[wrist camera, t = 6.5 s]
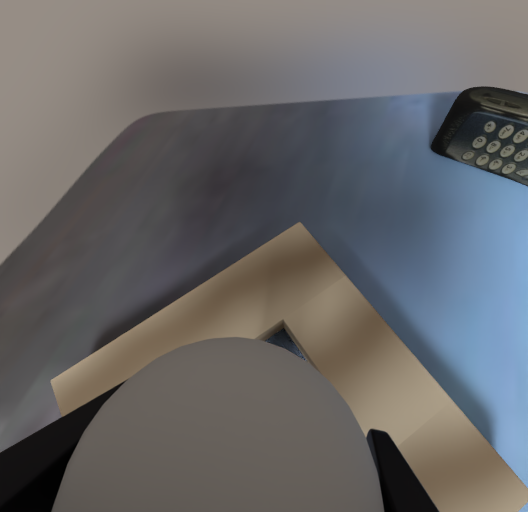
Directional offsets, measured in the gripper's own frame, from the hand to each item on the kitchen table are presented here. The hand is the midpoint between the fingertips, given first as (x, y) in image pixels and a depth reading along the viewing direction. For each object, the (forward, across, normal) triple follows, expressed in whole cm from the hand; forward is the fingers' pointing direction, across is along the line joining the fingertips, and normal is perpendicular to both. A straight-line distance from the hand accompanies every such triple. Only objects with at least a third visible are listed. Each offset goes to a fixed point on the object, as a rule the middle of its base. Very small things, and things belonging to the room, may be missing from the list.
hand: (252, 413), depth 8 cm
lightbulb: (+4, 0, +6) cm, 7 cm away
